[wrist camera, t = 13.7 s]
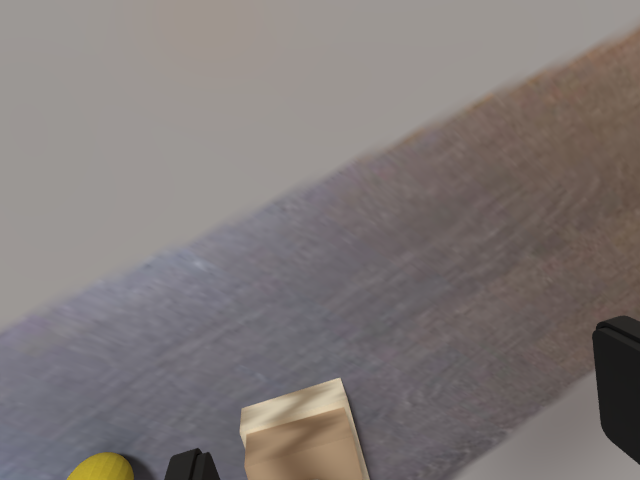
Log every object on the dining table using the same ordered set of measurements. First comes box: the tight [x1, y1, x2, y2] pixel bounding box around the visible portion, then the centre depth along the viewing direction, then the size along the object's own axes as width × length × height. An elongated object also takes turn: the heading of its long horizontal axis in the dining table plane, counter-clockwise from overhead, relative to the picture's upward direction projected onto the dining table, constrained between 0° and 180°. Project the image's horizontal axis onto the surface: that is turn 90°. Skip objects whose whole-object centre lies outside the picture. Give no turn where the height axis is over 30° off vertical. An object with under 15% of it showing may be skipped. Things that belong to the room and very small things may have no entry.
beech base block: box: [240, 378, 370, 480], centre depth 40 cm, size 10×10×4 cm
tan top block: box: [245, 407, 363, 480], centre depth 36 cm, size 9×9×4 cm
